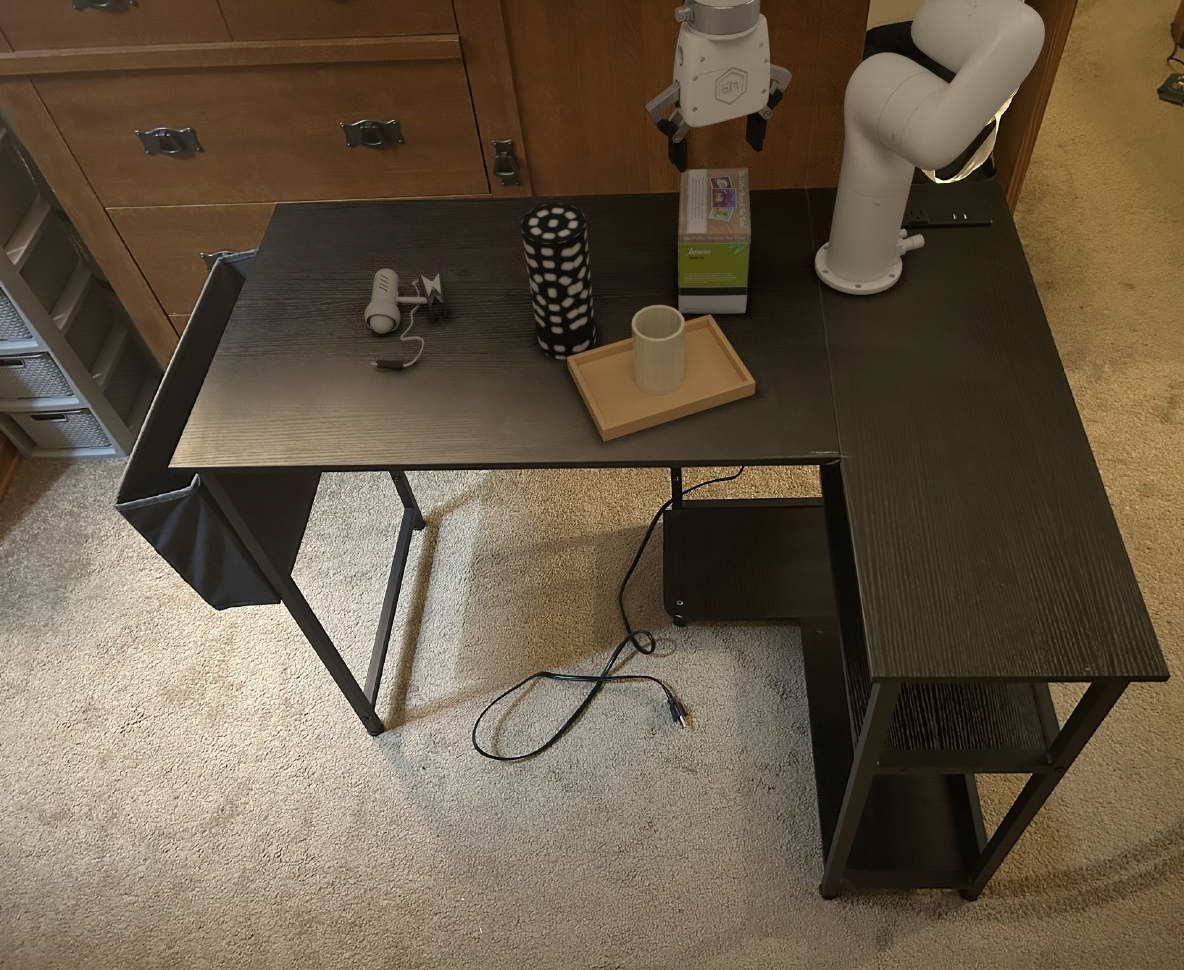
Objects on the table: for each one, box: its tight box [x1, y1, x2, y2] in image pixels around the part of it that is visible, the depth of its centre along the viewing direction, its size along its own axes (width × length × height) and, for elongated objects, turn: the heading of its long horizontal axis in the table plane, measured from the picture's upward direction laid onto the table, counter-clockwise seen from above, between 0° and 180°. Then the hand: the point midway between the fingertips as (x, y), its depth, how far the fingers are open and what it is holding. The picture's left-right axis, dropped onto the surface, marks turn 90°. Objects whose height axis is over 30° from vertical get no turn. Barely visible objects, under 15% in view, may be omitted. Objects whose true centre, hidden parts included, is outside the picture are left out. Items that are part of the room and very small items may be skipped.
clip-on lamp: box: [364, 267, 449, 371], centre depth 134 cm, size 12×6×18 cm
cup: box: [631, 304, 686, 395], centre depth 122 cm, size 7×7×10 cm
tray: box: [566, 313, 757, 442], centre depth 125 cm, size 22×15×2 cm
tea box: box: [677, 167, 752, 315], centre depth 132 cm, size 15×10×15 cm, turn 175°
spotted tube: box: [520, 202, 597, 360], centre depth 125 cm, size 8×8×20 cm
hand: (716, 156), depth 109 cm, fingers open, 9 cm apart
